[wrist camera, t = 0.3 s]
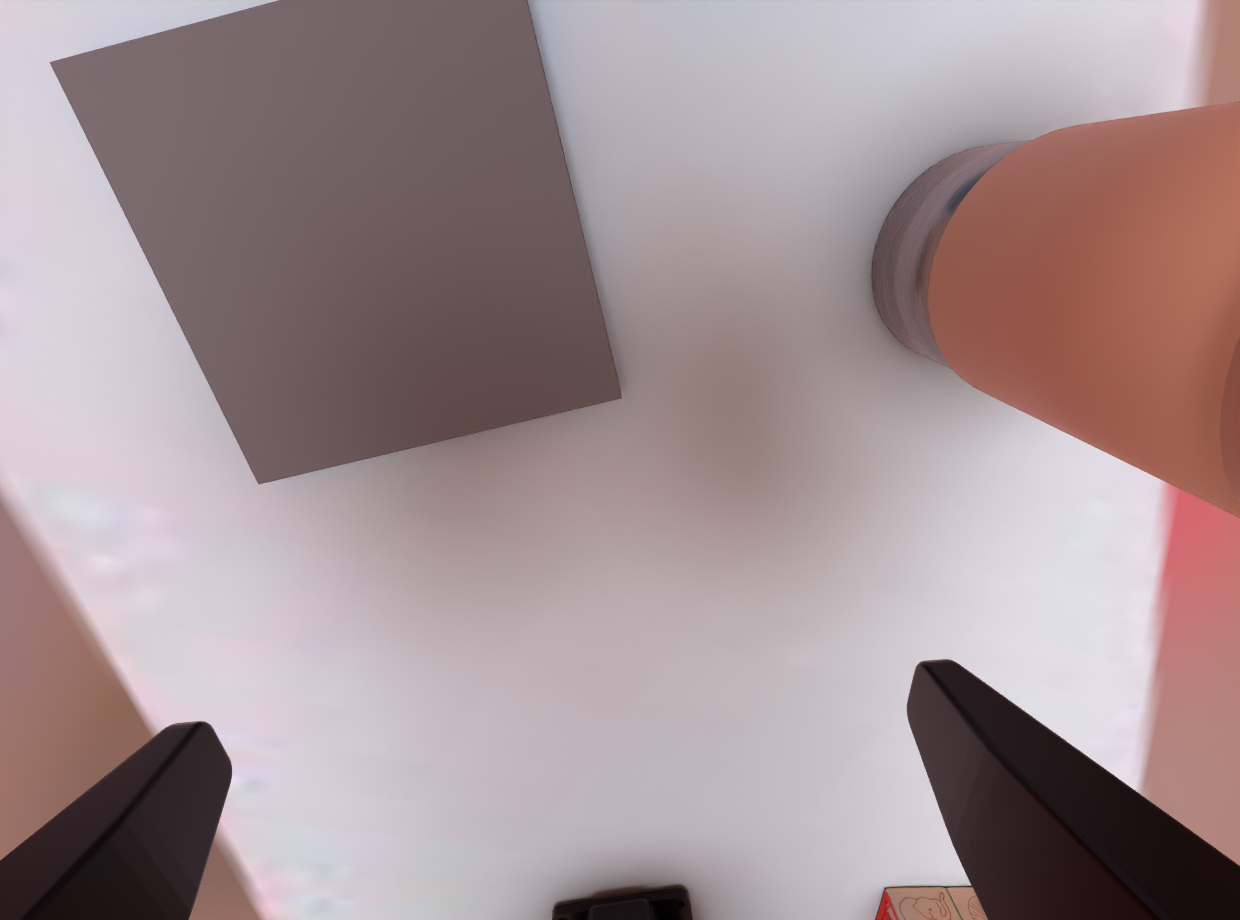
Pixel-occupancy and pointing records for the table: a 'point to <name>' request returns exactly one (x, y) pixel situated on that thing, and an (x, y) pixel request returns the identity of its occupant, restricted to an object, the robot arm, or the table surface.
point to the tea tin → (923, 243)
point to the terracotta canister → (1109, 291)
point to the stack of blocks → (930, 904)
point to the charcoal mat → (354, 220)
